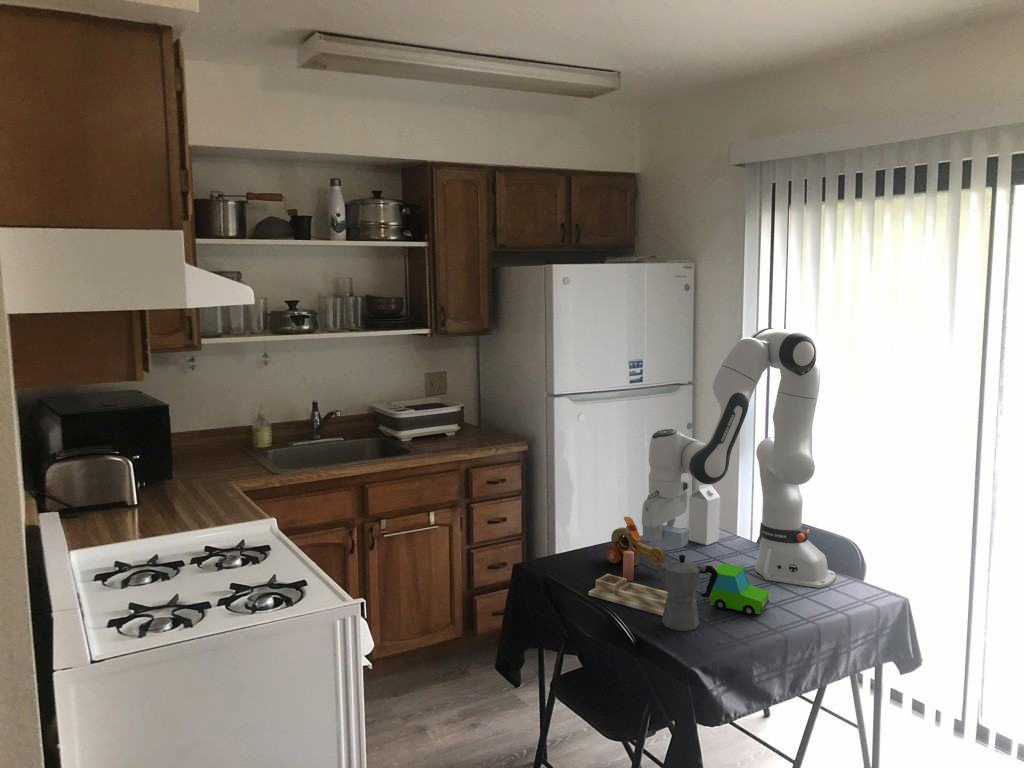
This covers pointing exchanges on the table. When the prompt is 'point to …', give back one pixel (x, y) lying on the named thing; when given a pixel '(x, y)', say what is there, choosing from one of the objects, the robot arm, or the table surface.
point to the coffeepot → (683, 592)
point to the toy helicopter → (632, 545)
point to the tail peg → (628, 565)
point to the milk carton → (704, 515)
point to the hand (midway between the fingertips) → (664, 535)
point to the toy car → (737, 591)
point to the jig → (630, 594)
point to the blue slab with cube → (667, 536)
